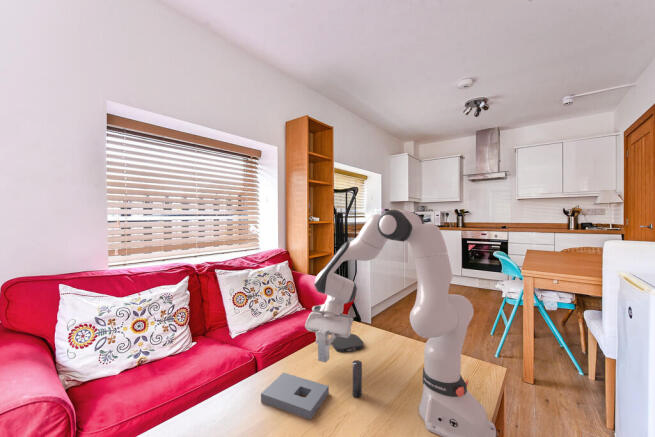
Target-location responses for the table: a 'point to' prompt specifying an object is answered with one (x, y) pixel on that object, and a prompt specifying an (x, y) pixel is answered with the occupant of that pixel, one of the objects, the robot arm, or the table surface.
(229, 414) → the table surface
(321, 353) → the square bit
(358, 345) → the media streaming box
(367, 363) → the table surface
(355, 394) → the round bit
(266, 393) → the socket board
